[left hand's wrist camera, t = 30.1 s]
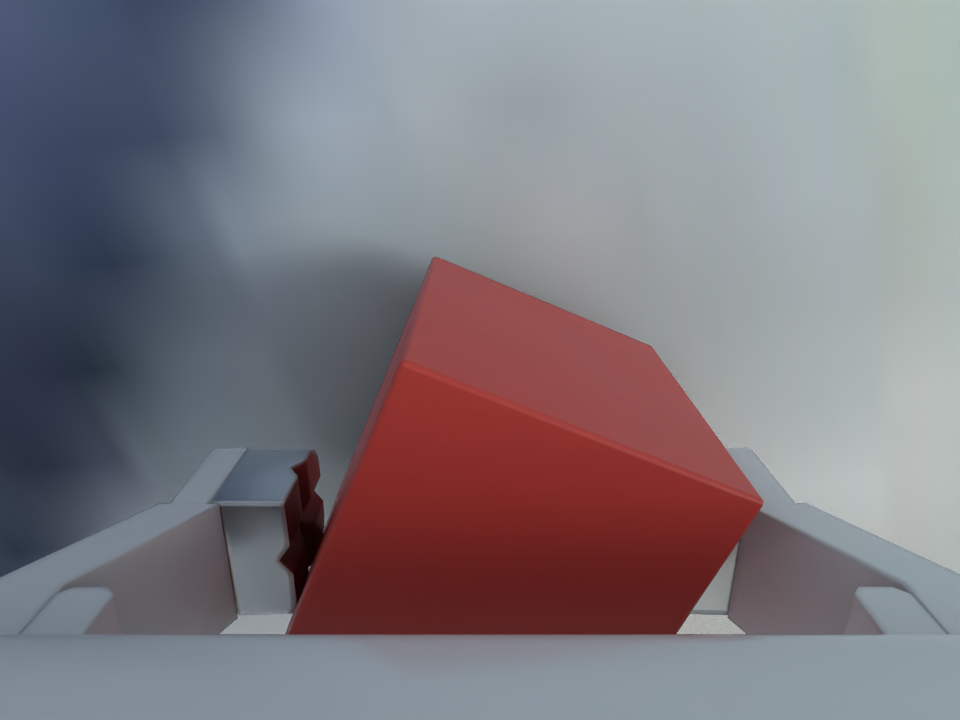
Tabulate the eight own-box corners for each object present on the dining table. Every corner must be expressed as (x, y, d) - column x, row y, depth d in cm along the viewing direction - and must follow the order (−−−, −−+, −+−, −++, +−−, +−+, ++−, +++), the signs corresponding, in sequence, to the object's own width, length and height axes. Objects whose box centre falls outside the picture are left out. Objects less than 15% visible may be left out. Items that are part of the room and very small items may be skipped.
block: (652, 346, 11) (768, 502, 7) (531, 567, 13) (558, 811, 8) (433, 254, 11) (400, 360, 6) (335, 498, 12) (253, 720, 8)
